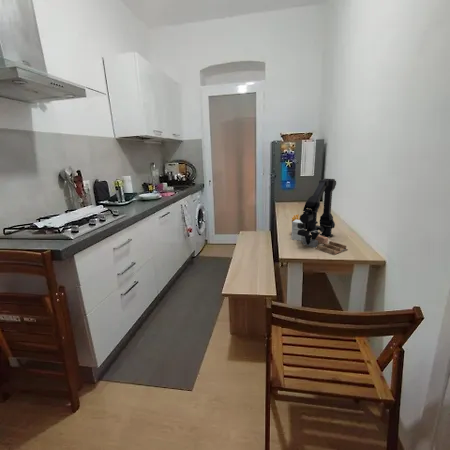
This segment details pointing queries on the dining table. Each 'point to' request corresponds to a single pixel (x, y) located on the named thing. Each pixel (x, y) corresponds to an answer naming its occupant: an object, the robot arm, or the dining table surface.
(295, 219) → the french fries
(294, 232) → the supplement box
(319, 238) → the tall terracotta pillar
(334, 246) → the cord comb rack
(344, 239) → the dining table surface
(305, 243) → the tall slate pillar
